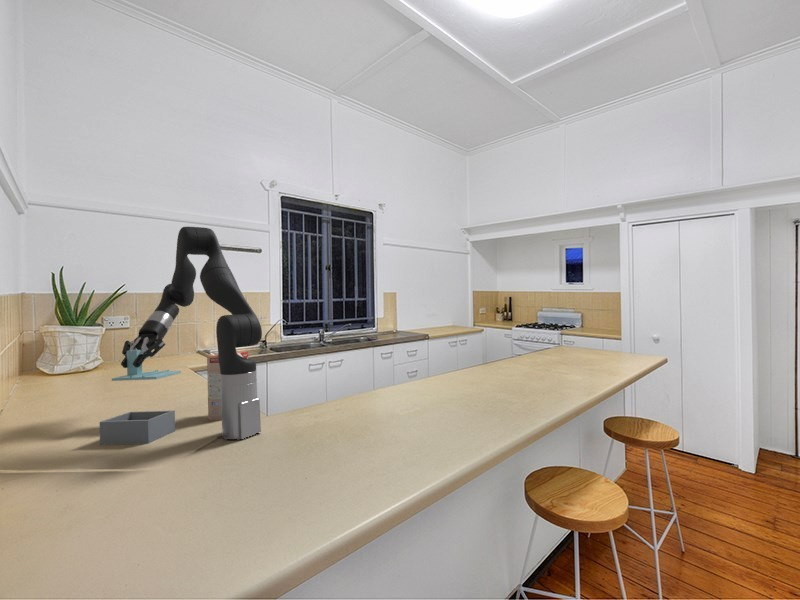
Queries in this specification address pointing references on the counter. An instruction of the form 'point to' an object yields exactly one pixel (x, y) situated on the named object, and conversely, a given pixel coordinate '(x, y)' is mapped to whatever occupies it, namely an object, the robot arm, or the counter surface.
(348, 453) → the counter surface
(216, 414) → the cracker box
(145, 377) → the lid
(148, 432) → the tub
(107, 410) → the counter surface
